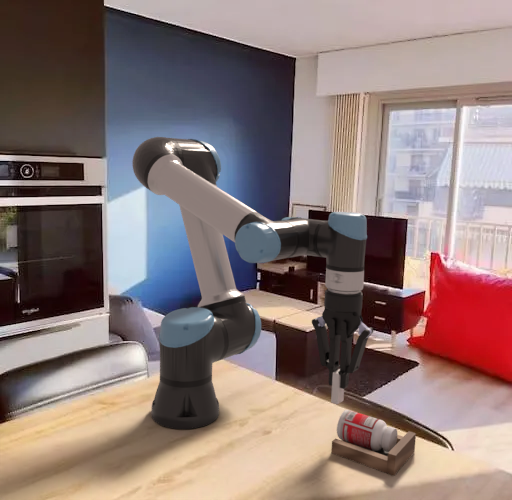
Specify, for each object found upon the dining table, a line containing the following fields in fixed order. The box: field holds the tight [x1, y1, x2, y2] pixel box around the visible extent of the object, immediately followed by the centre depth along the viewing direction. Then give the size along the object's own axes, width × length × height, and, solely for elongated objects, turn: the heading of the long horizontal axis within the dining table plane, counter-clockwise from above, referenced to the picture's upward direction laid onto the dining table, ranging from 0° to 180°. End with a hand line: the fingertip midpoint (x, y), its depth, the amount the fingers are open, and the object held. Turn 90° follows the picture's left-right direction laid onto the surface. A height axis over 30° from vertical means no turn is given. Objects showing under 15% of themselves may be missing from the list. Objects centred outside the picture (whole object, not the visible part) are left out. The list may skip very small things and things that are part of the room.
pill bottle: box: [336, 409, 398, 452], centre depth 110 cm, size 6×6×11 cm
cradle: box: [331, 430, 417, 477], centre depth 109 cm, size 13×11×4 cm
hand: (337, 401), depth 113 cm, fingers closed
